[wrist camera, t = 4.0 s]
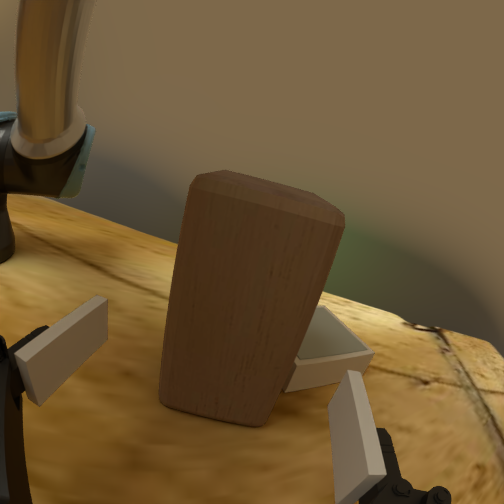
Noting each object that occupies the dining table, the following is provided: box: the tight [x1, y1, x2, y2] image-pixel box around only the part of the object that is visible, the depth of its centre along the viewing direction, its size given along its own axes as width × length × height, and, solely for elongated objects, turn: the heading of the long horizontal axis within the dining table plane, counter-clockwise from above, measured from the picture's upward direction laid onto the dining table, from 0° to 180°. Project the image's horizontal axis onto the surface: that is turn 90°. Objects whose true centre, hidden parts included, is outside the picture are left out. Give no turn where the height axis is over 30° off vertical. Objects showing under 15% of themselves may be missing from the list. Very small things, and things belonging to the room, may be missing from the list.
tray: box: [282, 306, 375, 393], centre depth 35 cm, size 12×12×4 cm
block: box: [159, 170, 345, 427], centre depth 24 cm, size 10×10×20 cm
